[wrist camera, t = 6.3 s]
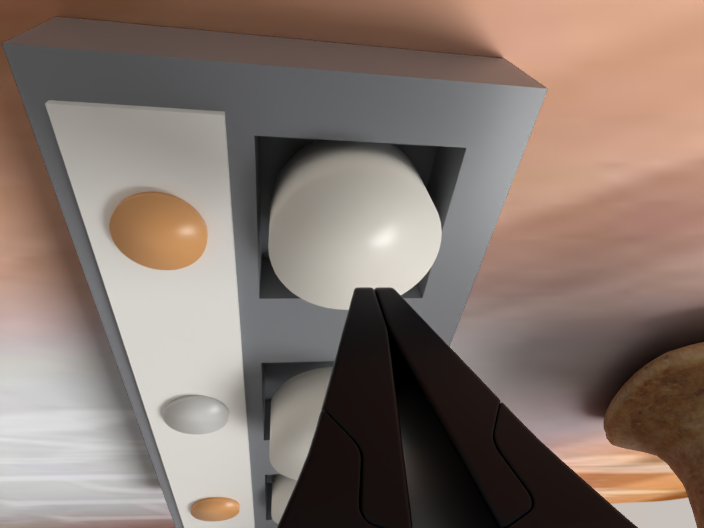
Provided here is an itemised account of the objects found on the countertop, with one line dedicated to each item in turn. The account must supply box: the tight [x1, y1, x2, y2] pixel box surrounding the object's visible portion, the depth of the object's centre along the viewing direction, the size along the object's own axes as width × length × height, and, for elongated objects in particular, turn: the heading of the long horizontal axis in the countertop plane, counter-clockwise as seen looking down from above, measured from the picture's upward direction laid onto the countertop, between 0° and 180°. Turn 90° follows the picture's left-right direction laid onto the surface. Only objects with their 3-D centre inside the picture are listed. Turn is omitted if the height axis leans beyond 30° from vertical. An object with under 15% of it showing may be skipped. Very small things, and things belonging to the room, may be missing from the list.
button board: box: [2, 16, 548, 528], centre depth 17 cm, size 24×11×3 cm, turn 173°
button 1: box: [268, 139, 442, 310], centre depth 12 cm, size 4×4×2 cm
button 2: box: [271, 474, 297, 524], centre depth 22 cm, size 4×4×2 cm
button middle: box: [269, 367, 333, 480], centre depth 16 cm, size 4×4×2 cm
